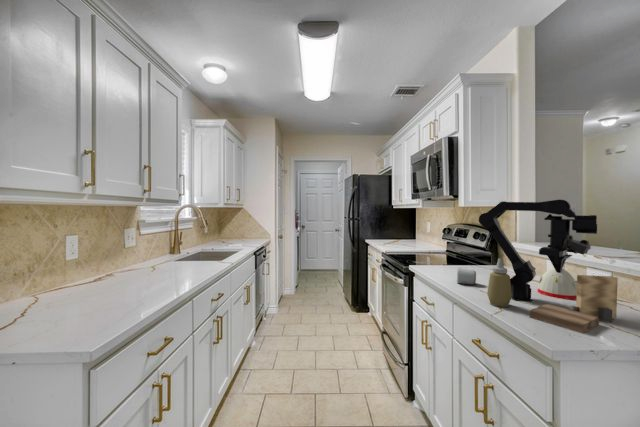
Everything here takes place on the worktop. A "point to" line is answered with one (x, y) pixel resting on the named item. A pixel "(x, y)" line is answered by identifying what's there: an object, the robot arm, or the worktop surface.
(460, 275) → the ceramic mug
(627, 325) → the worktop surface
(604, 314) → the stop block
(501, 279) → the squeeze bottle
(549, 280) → the kitchen timer
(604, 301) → the light wooden board
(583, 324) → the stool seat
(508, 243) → the robot arm
